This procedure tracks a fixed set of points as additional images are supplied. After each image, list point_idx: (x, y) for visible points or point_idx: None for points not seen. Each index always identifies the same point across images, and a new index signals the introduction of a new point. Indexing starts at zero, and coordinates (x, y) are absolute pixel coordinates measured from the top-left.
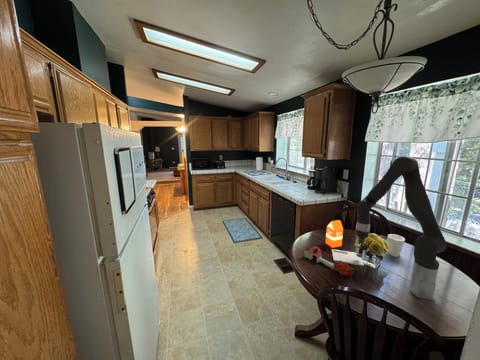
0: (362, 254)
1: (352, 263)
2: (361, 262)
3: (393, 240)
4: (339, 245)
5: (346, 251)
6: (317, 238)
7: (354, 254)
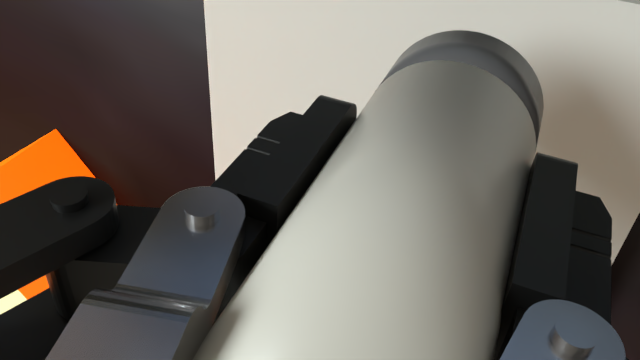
0: (510, 95)
1: (625, 227)
2: (605, 37)
3: None
4: (75, 175)
5: (219, 154)
6: None
7: (281, 55)
